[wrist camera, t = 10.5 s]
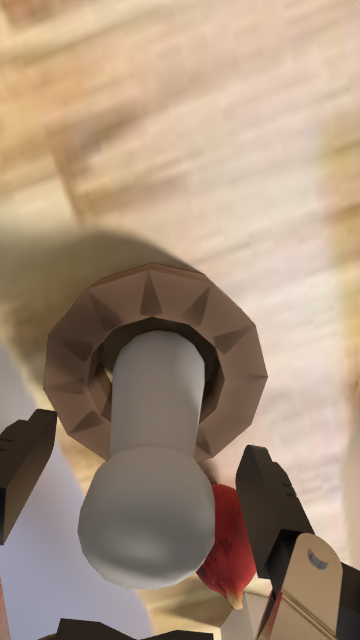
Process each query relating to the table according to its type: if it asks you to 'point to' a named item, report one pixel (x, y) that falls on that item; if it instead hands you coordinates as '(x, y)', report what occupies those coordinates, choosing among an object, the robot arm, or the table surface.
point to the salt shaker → (151, 470)
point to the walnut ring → (165, 303)
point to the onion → (228, 549)
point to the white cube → (244, 619)
